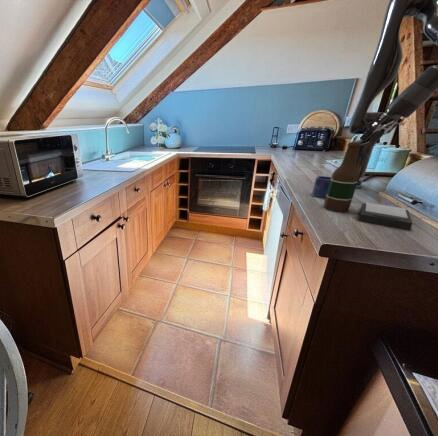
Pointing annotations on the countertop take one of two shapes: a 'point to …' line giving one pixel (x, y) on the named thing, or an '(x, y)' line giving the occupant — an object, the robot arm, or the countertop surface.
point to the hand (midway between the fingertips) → (366, 140)
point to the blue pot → (321, 186)
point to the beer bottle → (343, 181)
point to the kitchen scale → (385, 215)
